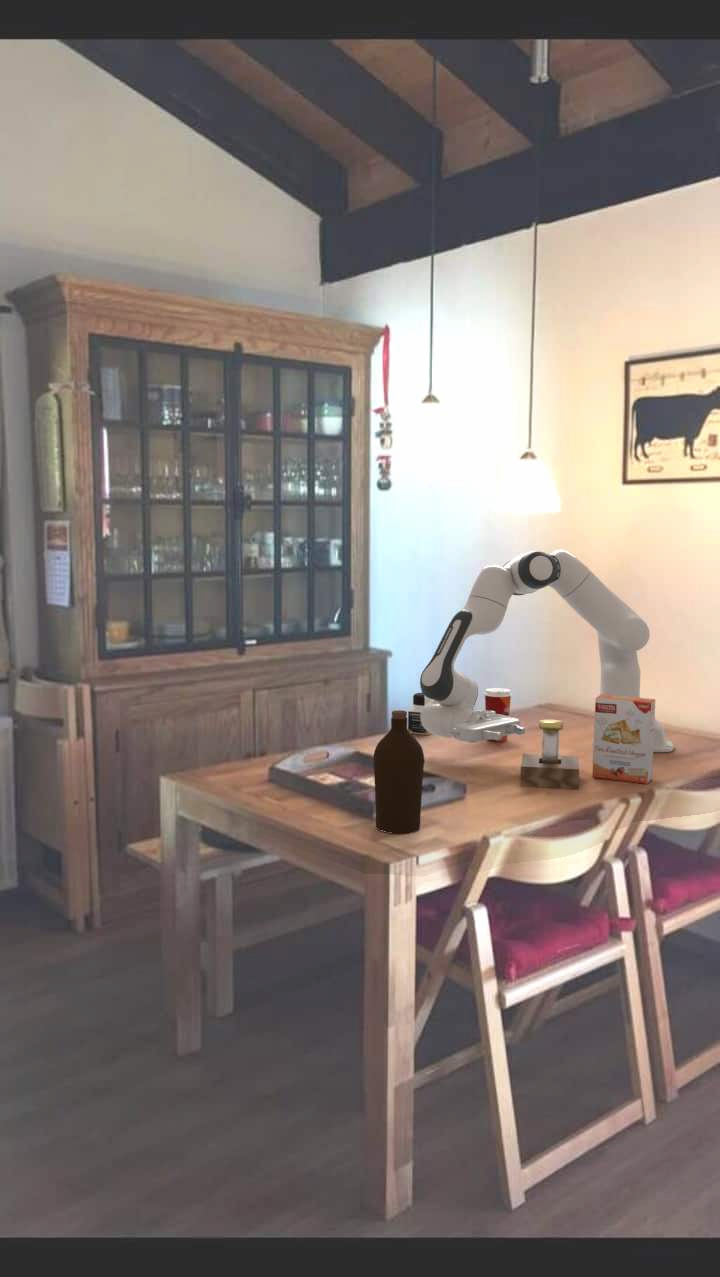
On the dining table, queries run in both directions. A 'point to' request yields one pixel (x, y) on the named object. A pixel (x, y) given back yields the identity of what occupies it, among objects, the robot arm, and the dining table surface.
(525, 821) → the dining table surface
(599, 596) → the robot arm
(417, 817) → the olive oil
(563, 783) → the block
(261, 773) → the dining table surface
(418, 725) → the medicine bottle
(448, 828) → the dining table surface
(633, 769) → the cracker box
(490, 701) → the coffee cup
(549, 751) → the pin
